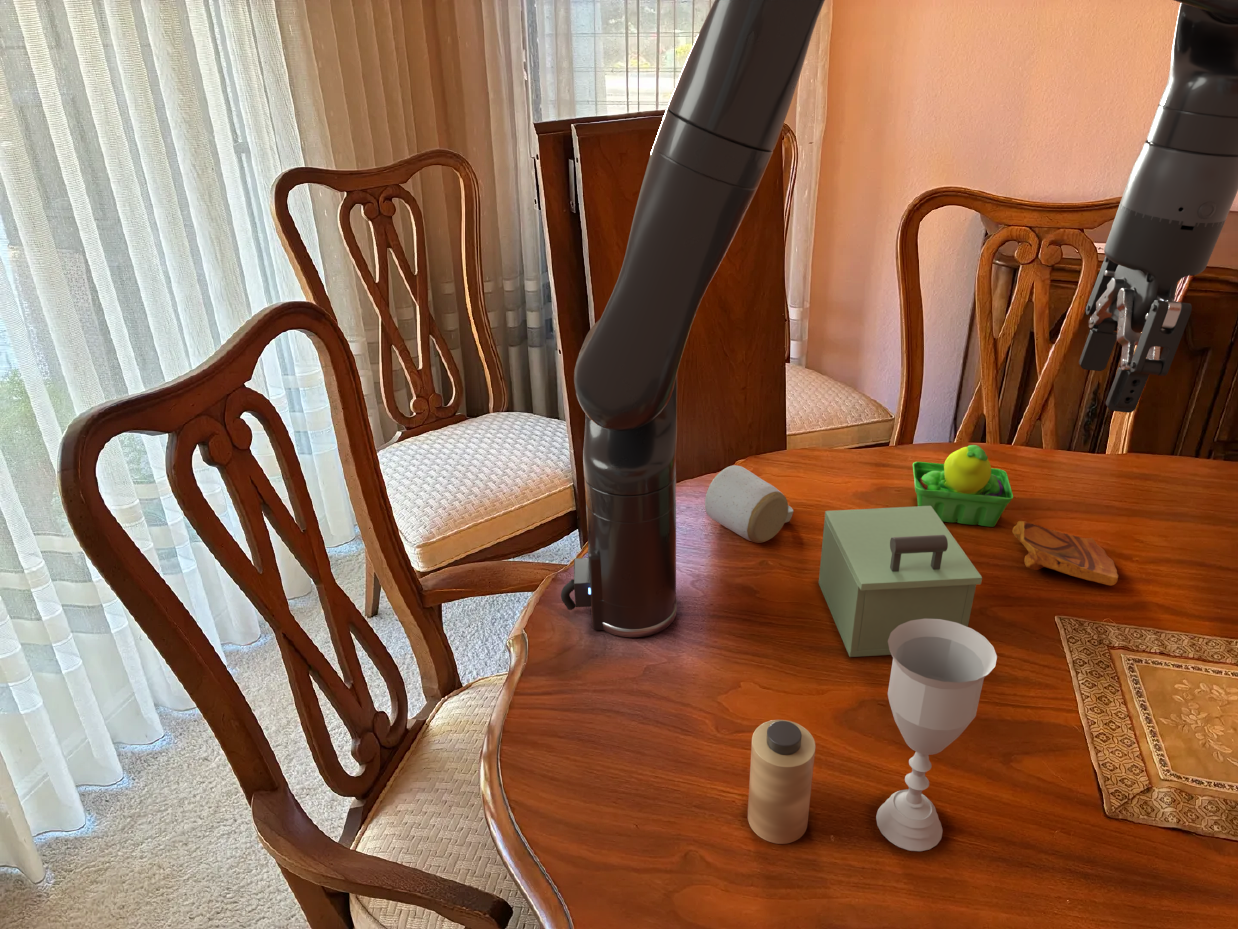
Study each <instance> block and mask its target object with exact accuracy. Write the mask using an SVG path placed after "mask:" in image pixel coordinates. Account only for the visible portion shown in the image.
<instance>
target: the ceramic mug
mask: <svg viewBox="0 0 1238 929" xmlns="http://www.w3.org/2000/svg"><path fill="white" fill-rule="evenodd" d="M704 509H705V512H706V514H707V516H708V517H709V518H710V519H711V520H713V521H714V522H716V523H718V524H720V525H721V526H723V527H725V528H726V529H728V530H730V531H732V532H734V533H735V534H736V535H738V536H740V537H741V538H743V539H745V540H747V541H749V542H752V543H756V544H761V543H765V542H767V541H770V540H771V539H773V538H774V537H775V536H776V535H777V534H778V533H779V532H780V531H781V530H782V528H783V527H784V525H785V524H786V523H789V522H790V521H791V520H792V517H793V514H794V509H793V508H792V507H791V506H790V505H789V503H788V499H787V497H786V495H785V494H784V493H783V492H782V491H780V490H779V489H778V488H777V487H775V486H774V485H773V484H771V483H769V482H767V481H765V480H764V479H762V478H761V477H760V476H758V475H756V474H755V473H753V472H752V471H750V470H748V469H747V468H745V467H743V466H742V465H735V464H733V465H730V466H727V467H725V468H724V469H722V470H721V471H720V472H718V473H717V474H716V475H715V477H714V478H713V479H712V481H711V482H710V484H709V485H708V488H707V491H706V494H705V498H704Z"/></svg>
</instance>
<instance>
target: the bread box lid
mask: <svg viewBox="0 0 1238 929" xmlns="http://www.w3.org/2000/svg"><path fill="white" fill-rule="evenodd" d="M825 518H826V521H827V523H828V525H829V527H830V529H831V531H832V533H833V535H834V537H835V539H836V541H837V543H838V545H839V547H840V549H841V551H842V553H843V555H844V557H845V559H846V561H847V563H848V566H849V568H850V570H851V572H852V574H853V576H854V578H855V580H856V582H857V584H858V586H859V588H860V590H861V591H863V590H882V589H901V588H919V587H938V586H957V585H976V586H977V585H982V582H983V581H982V580H983V577H982V574H981V573H980V572H979V571H978V569H977V568H976V567H975V565H974V564H973V563H972V561H971V560H970V559H969V558H970V557H968V555H967V554H966V553H965V551H964V550H963V548H962V547H961V546H960V544H959V542H958V541H957V540H956V538H955V537H954V536H953V535H952V533H951V532H950V530H949V529H948V527H947V525H946V524H944V523H945V522H942V521H941V519H940V518H939V516H938V515H937V513H936V512H935V511H934V509H933V508H932V506H918V505H917V506H897V507H880V508H878V507H877V508H860V509H859V508H858V509H856V508H855V509H837V510H825V511H824V519H825Z"/></svg>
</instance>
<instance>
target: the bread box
mask: <svg viewBox="0 0 1238 929" xmlns="http://www.w3.org/2000/svg"><path fill="white" fill-rule="evenodd" d="M822 532H823V533H822V541H821V542H822V543H821V553H820V564H819V575H818V586H819V588H820V590H821V592H822V595H823V597H824V599H825V602H826V604H827V607H828V609H829V611H830V614H831V616H832V619H833V622H834V623H835V626H836V628H837V631H838V633H839V635H840V637H841V640H842V643H843V645H844V647H845V649H846V652H847V655H848V656H849V658H857V657H858V658H859V657H875V656H892V655H891V653H890V650H889V645H888V639H889V636H890V634H891V632H892V631H893V630H894V629H895V628H896V627H898V626H899V625H901V624H903V623H906V622H908V621H911V620H918V619H942V620H947V621H951V622H956V623H959V624H961V625H964V626H966V627H969V623H970V618H971V614H972V607H973V603H974V598H975V594H976V588H977V584H976V585H957V586H938V587H919V588H901V589H882V590H863V591H861V590H860V588H859V586H858V584H857V582H856V580H855V578H854V576H853V574H852V572H851V570H850V568H849V566H848V563H847V561H846V559H845V557H844V555H843V553H842V551H841V549H840V547H839V545H838V543H837V541H836V539H835V537H834V535H833V533H832V531H831V529H830V527H829V525H828V523H827V521H826V518H825V517H824V522H823V530H822Z"/></svg>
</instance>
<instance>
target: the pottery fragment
mask: <svg viewBox="0 0 1238 929" xmlns="http://www.w3.org/2000/svg"><path fill="white" fill-rule="evenodd" d="M1011 532H1012V534H1013V535H1014V537H1015V538H1016V539H1017V540H1018V541H1019V542H1020V543H1021V544H1022V545H1023V546H1024V548H1025V549H1026V551H1027V552H1028V553H1027V554H1026V555H1025V556H1024V559H1023V561H1024V564H1025V565H1024V566H1025V567H1026V568H1028V569H1031V570H1034V571H1038V570H1041V569H1044V568H1047V569H1050V570H1053V571H1056V572H1059V573H1062V574H1065V575H1068V576H1071V577H1075V578H1078V579H1082V580H1086V581H1089V582H1095V583H1098V584H1102V585H1106V586H1114V585H1116V584H1117V583H1118V579H1119V574H1118V570H1117V568H1116V565H1115V561H1114V559H1112V558H1110V557H1109V556H1108V554H1107V552H1106V550H1105V549H1104V548H1102V547H1101V546H1100V545H1098V543H1097V542H1096V540H1095V539H1094V538H1093V537H1089V538H1087V537H1082V536H1077V535H1074V534H1068V533H1064V532H1061V531H1057V530H1054V529H1050V528H1047V527H1044V526H1040V525H1037V524H1034V523H1031V522H1028V521H1025V520H1024V521H1023V520H1019V521H1017V522H1016V525H1014V526H1013V528H1012V529H1011Z"/></svg>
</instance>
